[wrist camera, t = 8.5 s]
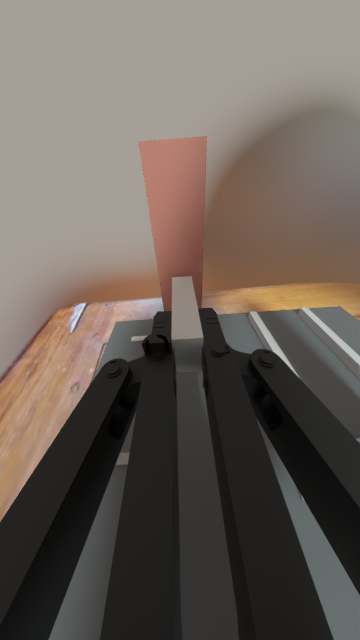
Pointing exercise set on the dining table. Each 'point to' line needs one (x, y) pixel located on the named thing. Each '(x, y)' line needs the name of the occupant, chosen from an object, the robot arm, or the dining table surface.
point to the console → (202, 485)
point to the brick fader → (176, 208)
